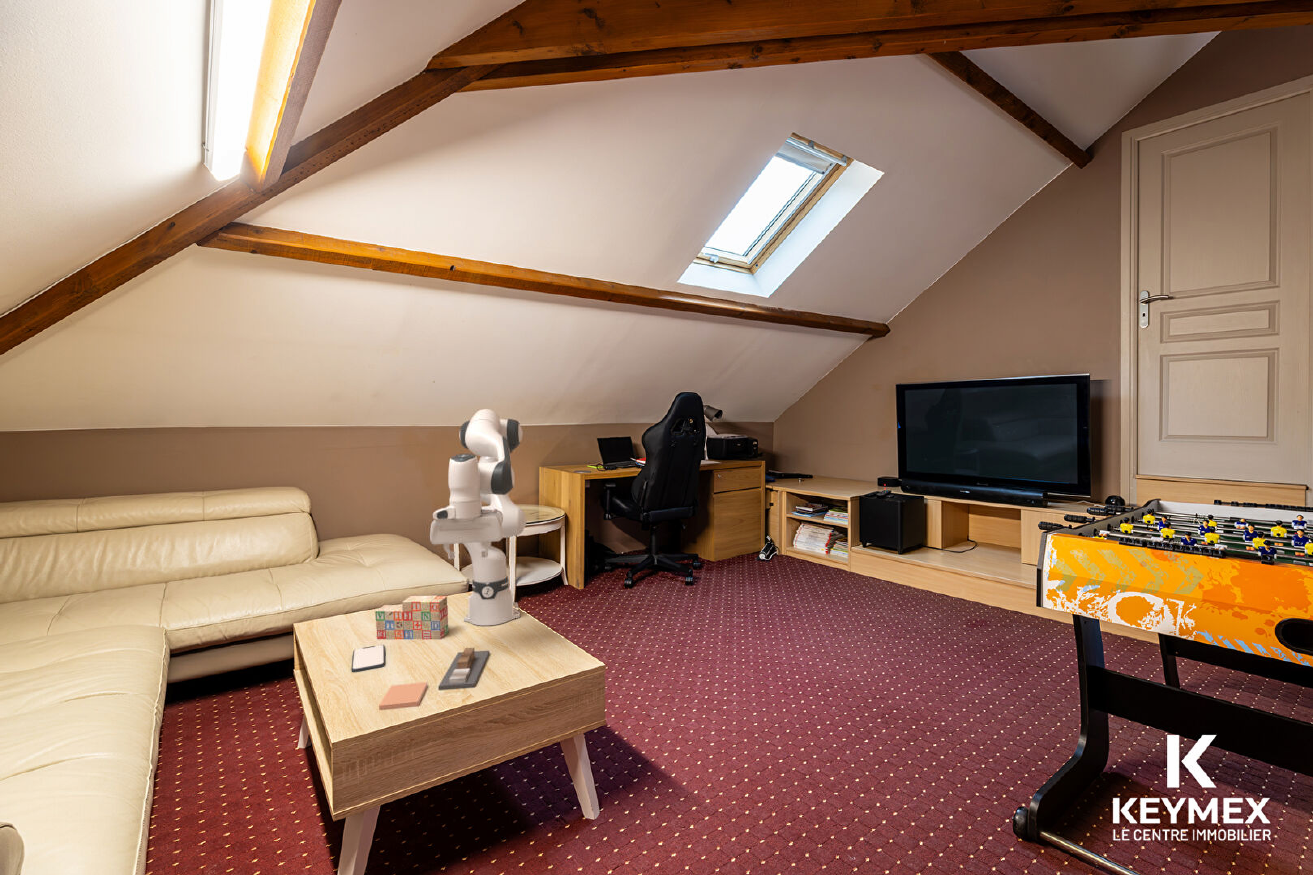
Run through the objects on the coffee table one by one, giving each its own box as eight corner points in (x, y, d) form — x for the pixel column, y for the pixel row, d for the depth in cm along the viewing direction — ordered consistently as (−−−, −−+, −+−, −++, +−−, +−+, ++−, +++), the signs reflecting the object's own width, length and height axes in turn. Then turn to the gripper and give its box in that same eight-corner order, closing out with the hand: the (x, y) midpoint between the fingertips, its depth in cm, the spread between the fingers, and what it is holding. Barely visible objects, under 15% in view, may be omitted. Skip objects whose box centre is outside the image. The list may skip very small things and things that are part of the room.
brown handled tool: (463, 658, 177) (462, 648, 177) (477, 657, 178) (476, 647, 178) (449, 683, 161) (448, 672, 161) (465, 682, 162) (464, 671, 162)
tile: (391, 685, 161) (379, 705, 150) (427, 681, 163) (417, 701, 152) (391, 691, 161) (379, 712, 151) (427, 687, 163) (418, 707, 152)
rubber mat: (458, 655, 182) (458, 652, 182) (489, 653, 183) (489, 650, 183) (438, 689, 160) (438, 685, 160) (474, 687, 161) (474, 683, 161)
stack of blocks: (376, 639, 198) (374, 601, 197) (386, 632, 204) (384, 595, 203) (440, 639, 196) (438, 601, 195) (449, 632, 202) (447, 595, 202)
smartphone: (385, 669, 176) (385, 648, 191) (385, 663, 176) (384, 643, 191) (351, 675, 173) (353, 654, 187) (350, 670, 172) (352, 649, 187)
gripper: (504, 507, 183) (506, 553, 184) (433, 510, 182) (435, 557, 182) (500, 510, 177) (503, 558, 178) (427, 513, 175) (429, 562, 176)
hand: (468, 557), depth 180 cm, fingers open, 8 cm apart
